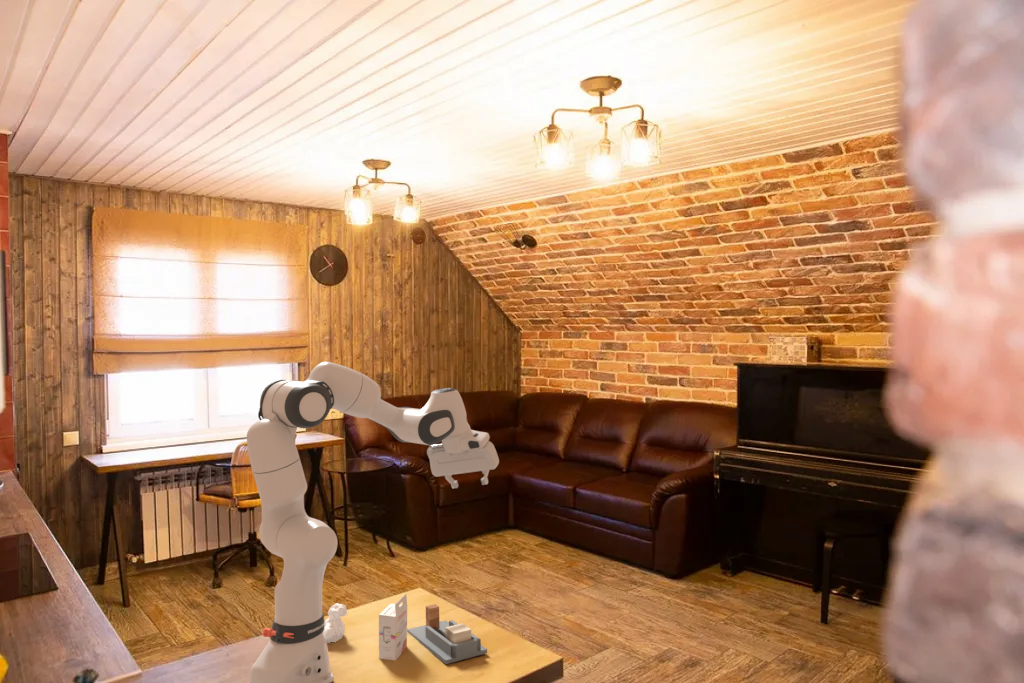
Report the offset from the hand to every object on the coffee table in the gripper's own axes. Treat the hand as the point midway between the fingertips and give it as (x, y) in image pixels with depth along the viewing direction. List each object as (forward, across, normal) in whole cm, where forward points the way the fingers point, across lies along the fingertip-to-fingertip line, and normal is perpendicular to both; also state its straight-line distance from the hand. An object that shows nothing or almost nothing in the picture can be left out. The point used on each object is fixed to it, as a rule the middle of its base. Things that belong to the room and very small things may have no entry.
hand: (470, 485), depth 214 cm
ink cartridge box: (+29, -18, -35) cm, 49 cm away
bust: (+27, -38, -31) cm, 56 cm away
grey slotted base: (+34, -8, -25) cm, 42 cm away
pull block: (+32, -7, -25) cm, 41 cm away
